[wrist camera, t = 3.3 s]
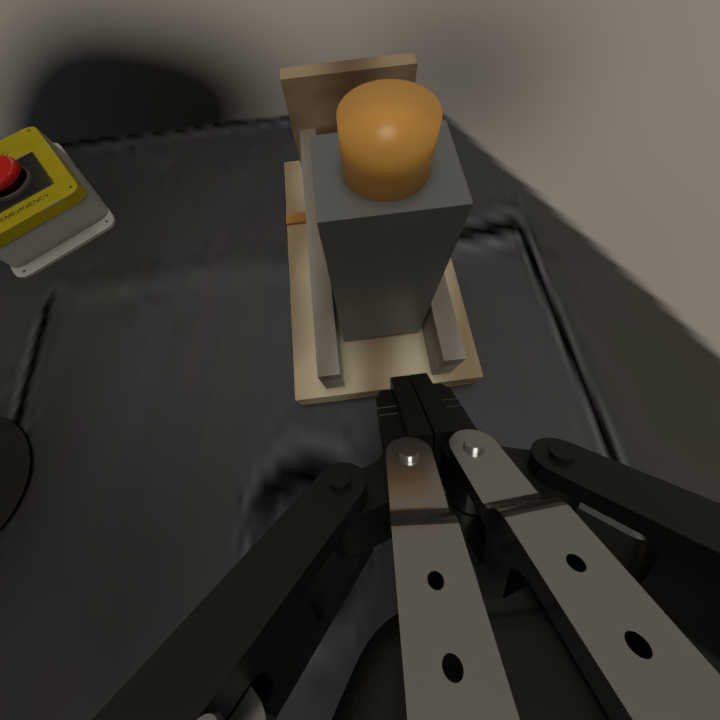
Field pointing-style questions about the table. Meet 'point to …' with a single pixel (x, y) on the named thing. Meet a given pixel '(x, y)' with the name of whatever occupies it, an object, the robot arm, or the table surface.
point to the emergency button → (44, 204)
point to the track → (310, 274)
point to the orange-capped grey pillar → (387, 206)
